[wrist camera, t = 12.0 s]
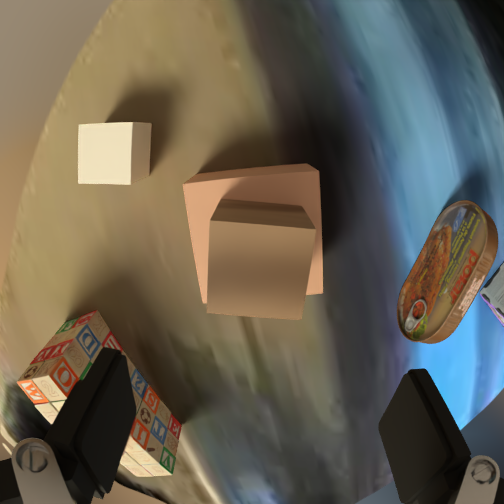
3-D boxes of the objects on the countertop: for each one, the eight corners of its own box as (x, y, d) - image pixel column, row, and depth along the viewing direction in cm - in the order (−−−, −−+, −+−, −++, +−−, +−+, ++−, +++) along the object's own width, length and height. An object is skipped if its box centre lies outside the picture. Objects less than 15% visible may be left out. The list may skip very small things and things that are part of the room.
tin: (448, 191, 29) (497, 212, 21) (467, 203, 29) (515, 226, 21) (386, 312, 34) (414, 358, 26) (406, 318, 34) (436, 363, 26)
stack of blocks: (183, 424, 41) (169, 494, 30) (149, 429, 42) (131, 494, 30) (97, 308, 34) (47, 376, 22) (63, 321, 35) (14, 382, 23)
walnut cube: (220, 198, 23) (209, 220, 18) (301, 205, 24) (316, 229, 18) (216, 273, 26) (206, 312, 20) (291, 279, 26) (301, 319, 20)
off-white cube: (104, 124, 27) (78, 124, 22) (152, 123, 27) (132, 122, 22) (103, 174, 28) (78, 183, 24) (149, 175, 29) (130, 184, 24)
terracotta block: (196, 173, 29) (182, 184, 23) (306, 163, 28) (318, 170, 23) (211, 273, 32) (202, 303, 27) (311, 264, 32) (322, 293, 26)
